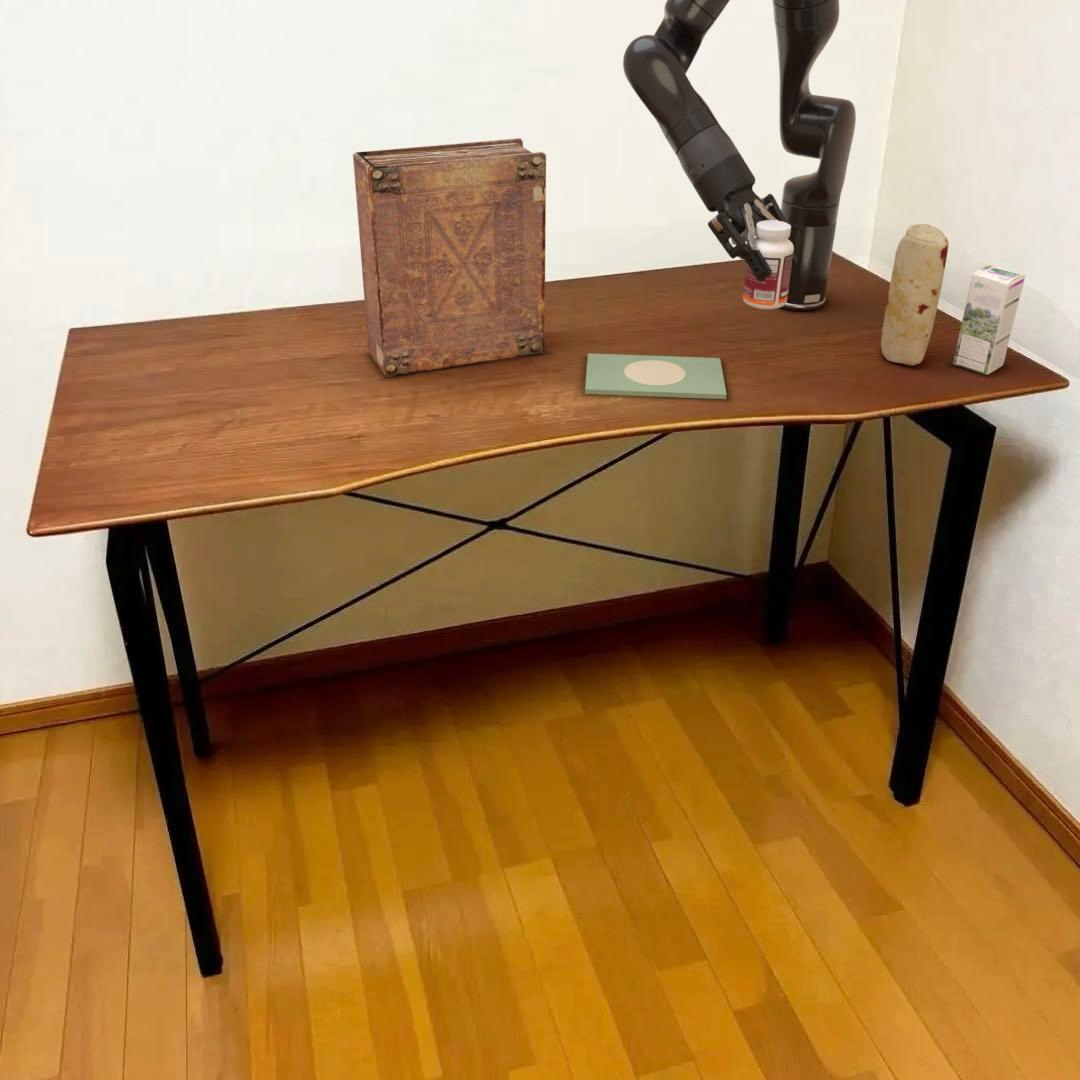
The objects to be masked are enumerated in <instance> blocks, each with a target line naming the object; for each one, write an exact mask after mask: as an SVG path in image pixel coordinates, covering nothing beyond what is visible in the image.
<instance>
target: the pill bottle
mask: <svg viewBox="0 0 1080 1080" xmlns="http://www.w3.org/2000/svg"><path fill="white" fill-rule="evenodd" d="M790 232H791V226H790V225H789V224H788V223H785V222H782V221H778V220H764V221H760V222H758V223H757V224H756V233H755V234H756V236H757V237H756V236H755V237H754V238H755V242H756V246H757V249H756V251H757V250H759V251H760V252H761V254H762V255H763V257H764V259H765V260H766V262H767V263H768V265H769V267H770V268H771V270H772V274H771V275H770V276H768V277H767V278H766V279H764V280H762V281H758V280H757V278H756V277H755V276H754V274H753V272H752V271H751V269H750V267H749V266H748V264H747V263H746V264H745V265H746V266H745V273H744V274H745V275H744V284H743V290H742V291H743V292H742V300H743V302H744V303H745V304H746V305H747V306H749V307H752V308H755V309H760V310H776V309H780V308H781V307H782V306H784V305H785V304H786V302H787V298H788V290H789V282H790V274H791V267H792V259H793V251H794V246H793V244H792V242H791V241H790V240H788V238H789V237H790Z"/></svg>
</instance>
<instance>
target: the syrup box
mask: <svg viewBox="0 0 1080 1080" xmlns="http://www.w3.org/2000/svg"><path fill="white" fill-rule="evenodd" d="M1025 278H1026V274H1025V273H1021V272H1019V271H1013V270H1009V269H1006V268H1002V267H998V266H995V265H994V266H993V265H990V264H989V265H985V266H984V267H982V268H979V269H978V270H976V271H974V272H973V273H972V275H971V279H970V283H969V288H968V294H967V298H966V302H965V307H964V311H963V316H962V320H961V325H960V329H959V333H958V339H957V343H956V347H955V351H954V357H953V361H952V365H954V366H957V367H959V368H963V369H967V370H969V371H972V372H975V373H979V374H982V375H985V376H987V375H990V374H991V373H993V372H996V371H997V370H998V369H999V368H1001V367H1003V366H1004V363H1005V359H1006V355H1007V351H1008V346H1009V342H1010V338H1011V334H1012V329H1013V326H1014V322H1015V318H1016V314H1017V310H1018V306H1019V303H1020V298H1021V295H1022V292H1023V287H1024V283H1025Z"/></svg>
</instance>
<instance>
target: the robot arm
mask: <svg viewBox="0 0 1080 1080" xmlns="http://www.w3.org/2000/svg"><path fill="white" fill-rule="evenodd" d="M730 1H731V0H666V2H665V3H664V9H663V13H664V15H663V18H662V20H661V22H660V23H659V26H658V27H657V29H656V31H655V33H654V34H644V35H640V36H638V37H636V38H634V39H633V40H632V41H631V42H630V43H629V44H628V45H627V47H626V48H625V51H624V54H623V58H622V69H623V74H624V76H625V78H626V80H627V82H628V83H629V85H630V87H631V88H632V89H633V91H634V92H635V94H636V96H637V97H638V98H639V100H640V101H641V103H642V104H643V105H644V106H645V108H646V109H647V110H648V112H649V113H650V114H651V116H652V117H653V118H654V119H655V121H656V123H657V124H658V126H659V128H660V130H661V132H662V134H663V137H664V138H665V139H666V141H667V142H668V144H669V146H670V147H671V149H672V151H673V152H674V154H675V155H676V157H677V160H678V161H679V163H680V165H681V168H682V170H683V172H684V174H685V175H686V177H687V179H688V180H689V182H690V183H691V185H692V187H693V188H694V190H695V192H696V193H697V195H698V197H699V198H700V200H701V201H702V203H703V205H704V206H705V208H706V209H707V211H708V212H710V213H715V212H717V215H715V216H714V217H713V218H712V219H710V220H709V221H708V222H707V226H708V228H709V229H710V231H711V232H712V233H713V235H714V236H715V238H716V239H717V240H718V242H719V243H720V245H721V246H722V248H723V249H724V250H725V252H726V254H728V257H730V258H731V259H735V258H739V259H740V260H744V262H746V264H748V266H749V267H750V269H751V271H752V272H753V274H754V276H755V277H756V278H757V280H758V281H762V280H764V279H766V278H767V277H768V276H770V275H771V274H772V270H771V268H770V267H769V265H768V263H767V262H766V260H765V259H764V257H763V255H762V254H761V252H760V251H759V250H757V251H756V249H757V246H756V242H755V238H756V237H757V236H756V234H755V233H756V224H757V223H758V222H760V221H764V220H776V221H782V222H785V223H788V224H789V225H790V226H791V232H790V237H789V238H788V240H790V241H791V242H792V244H793V246H794V251H793V259H792V267H791V274H790V282H789V290H788V298H787V302H786V304H785V305H784V306H782V307H780V308H781V309H785V310H790V311H800V312H803V311H805V312H806V311H814V310H815V311H816V310H819V309H821V308H822V307H824V306H825V304H826V298H827V297H826V293H827V288H828V282H829V274H830V268H831V261H832V256H833V248H834V241H835V235H836V229H837V222H838V215H839V209H840V202H841V196H842V191H843V188H844V184H845V179H846V177H847V176H846V175H847V170H848V165H849V164H848V163H849V158H850V154H851V149H852V144H853V139H854V135H855V130H856V121H857V112H856V108H855V105H854V103H853V102H852V101H851V100H849V99H846V98H840V97H833V96H827V95H826V96H825V95H817V94H812V92H811V90H810V83H809V82H810V74H811V73H810V72H811V71H812V68H813V66H814V65H815V63H816V61H817V59H818V57H819V56H820V55H821V53H822V52H823V50H824V49H825V47H826V46H827V44H828V43H829V41H830V40H831V38H832V37H833V35H834V32H835V30H836V28H837V26H838V23H839V19H840V0H772V9H773V10H772V11H773V20H774V28H775V36H776V46H777V57H778V58H777V59H778V60H777V61H778V73H779V74H778V75H779V76H778V77H779V94H778V95H779V98H778V100H779V103H778V104H779V105H778V106H779V108H778V109H779V110H778V111H779V112H778V116H779V117H778V119H779V120H778V121H779V124H778V125H779V137H780V142H781V145H782V148H783V149H784V150H785V152H786V153H788V154H791V155H794V156H798V157H804V158H809V159H810V158H811V159H817V160H819V165H818V168H817V170H816V171H814V172H812V173H809V174H804V175H803V174H802V175H798V176H794V177H791V178H789V179H788V180H786V181H785V183H784V185H783V189H782V196H781V205H779V204H778V202H777V200H776V198H775V197H774V195H773V194H772V193H768V194H767V195H766V196H764V197H762V198H760V196H759V195H757V193H755V191H754V190H753V187H754V185H755V184H756V177H755V175H754V174H753V172H752V170H751V168H749V166H748V164H747V162H746V161H745V159H744V157H743V156H742V154H741V153H740V151H739V150H738V148H737V146H736V145H735V143H734V141H733V140H732V139H731V137H730V135H729V134H728V133H727V132H726V131H725V130H724V129H723V127H722V125H721V124H720V122H719V121H718V119H717V118H716V116H715V114H714V113H713V111H712V110H711V108H710V106H709V105H708V103H707V102H706V101H705V100H704V98H703V97H702V96H701V95H700V93H698V92H697V91H696V89H695V88H694V86H693V85H692V82H691V81H690V79H689V77H688V76H687V73H688V71H689V69H690V67H691V65H692V63H693V62H694V59H695V57H696V55H697V54H698V51H699V50H700V47H701V45H702V43H703V41H704V39H705V37H706V35H707V33H708V32H709V31H710V30H711V28H712V27H713V26H714V24H715V23H716V21H717V20H718V18H719V17H720V16H721V15H722V13H723V11H724V10H725V8H726V7H727V5H728V4H729V3H730ZM730 240H731V241H730ZM733 245H734V246H733Z"/></svg>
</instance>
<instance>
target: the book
mask: <svg viewBox="0 0 1080 1080" xmlns="http://www.w3.org/2000/svg"><path fill="white" fill-rule="evenodd" d="M352 159H353V173H354V184H355V185H354V186H355V198H356V199H355V200H356V211H357V222H358V236H359V249H360V261H361V262H360V263H361V274H362V285H363V287H362V288H363V297H364V298H363V299H364V300H363V301H364V312H365V323H366V324H365V325H366V336H367V348H368V349H367V350H368V354H369V355H370V357H371V358H372V359H373V361H374V363H375V364H376V365H377V366H378V368H379V369H380V371H381V372H382V373H383V375H384V377H385V378H389V377H396V376H402V375H409V374H417V373H424V372H430V371H431V372H432V371H436V370H438V371H439V370H445V369H449V368H450V369H451V368H457V367H465V366H471V365H477V364H484V363H485V364H486V363H491V362H499V361H505V360H512V359H519V358H525V357H532V356H540V355H544V353H546V347H545V345H546V333H545V332H546V230H547V229H546V222H547V221H546V219H547V218H546V215H547V214H546V213H547V211H546V209H547V155H546V152H543V151H537V152H532V151H530V150H529V149H527V148H525V147H524V141H523V139H522V138H520V137H519V138H508V139H507V138H506V139H495V140H483V141H472V142H461V143H449V144H436V145H425V146H413V147H412V146H411V147H402V148H401V147H400V148H390V149H379V150H367V151H357V152H353V154H352Z"/></svg>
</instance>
